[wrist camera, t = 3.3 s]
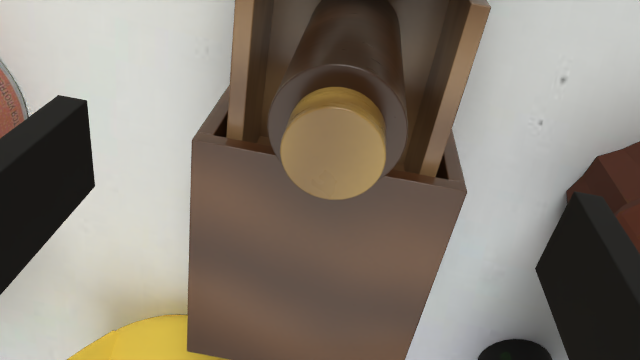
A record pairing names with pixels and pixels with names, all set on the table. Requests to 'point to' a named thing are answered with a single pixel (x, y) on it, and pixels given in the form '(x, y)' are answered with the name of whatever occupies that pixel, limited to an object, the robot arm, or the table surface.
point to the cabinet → (309, 255)
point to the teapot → (144, 342)
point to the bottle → (342, 101)
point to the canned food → (10, 103)
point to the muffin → (616, 187)
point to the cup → (515, 351)
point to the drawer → (417, 54)
